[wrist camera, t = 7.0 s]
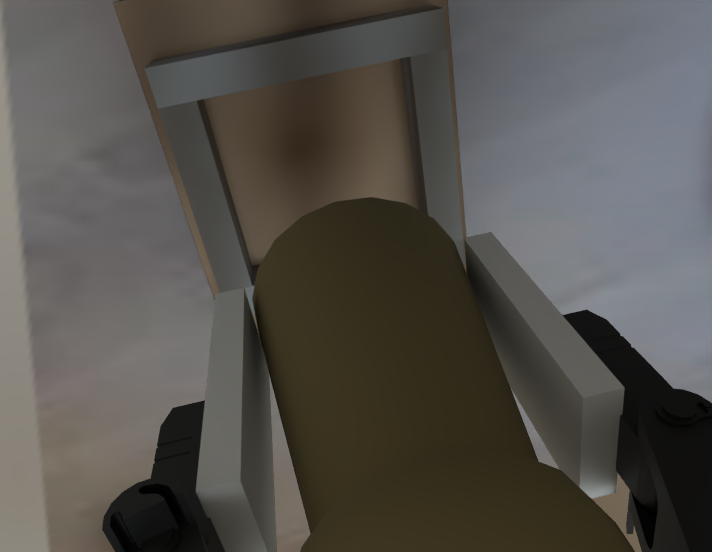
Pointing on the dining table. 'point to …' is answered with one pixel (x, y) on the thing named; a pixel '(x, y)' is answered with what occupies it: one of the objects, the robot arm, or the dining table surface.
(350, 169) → the socket stand
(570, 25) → the dining table surface
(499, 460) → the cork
